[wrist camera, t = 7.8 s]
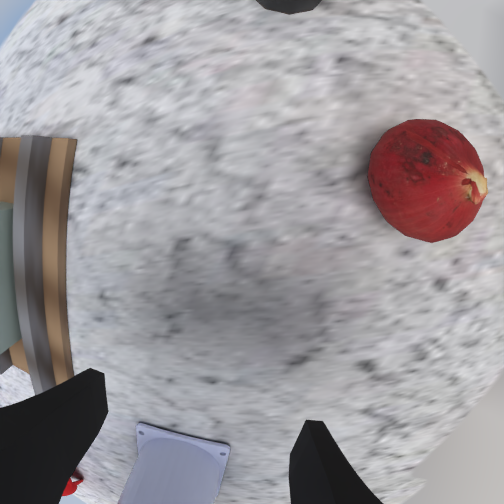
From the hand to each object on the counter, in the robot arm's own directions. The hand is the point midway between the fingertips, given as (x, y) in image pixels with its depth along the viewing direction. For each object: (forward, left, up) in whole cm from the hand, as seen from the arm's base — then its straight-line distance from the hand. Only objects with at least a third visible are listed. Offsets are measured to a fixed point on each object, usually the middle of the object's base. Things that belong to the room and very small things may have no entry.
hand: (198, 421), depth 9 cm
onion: (+10, -8, -10) cm, 16 cm away
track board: (-1, +17, -9) cm, 19 cm away
